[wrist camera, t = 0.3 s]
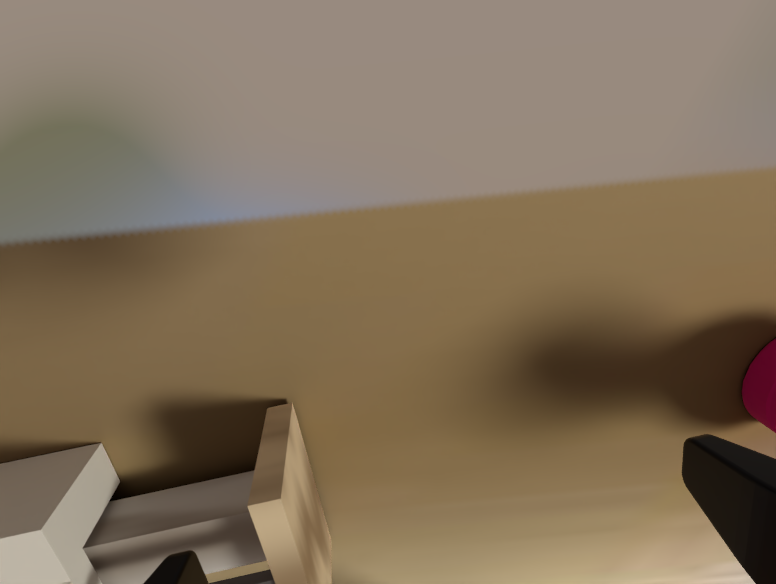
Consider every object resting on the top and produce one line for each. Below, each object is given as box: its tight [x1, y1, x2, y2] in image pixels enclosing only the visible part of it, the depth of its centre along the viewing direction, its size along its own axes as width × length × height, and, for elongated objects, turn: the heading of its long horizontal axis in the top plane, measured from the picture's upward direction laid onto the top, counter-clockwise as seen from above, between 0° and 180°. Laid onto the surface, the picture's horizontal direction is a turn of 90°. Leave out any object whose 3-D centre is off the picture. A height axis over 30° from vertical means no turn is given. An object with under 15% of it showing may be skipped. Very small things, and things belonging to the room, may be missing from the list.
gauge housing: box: [0, 443, 120, 584], centre depth 21 cm, size 9×8×5 cm
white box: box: [83, 403, 332, 584], centre depth 21 cm, size 9×15×6 cm, turn 99°
